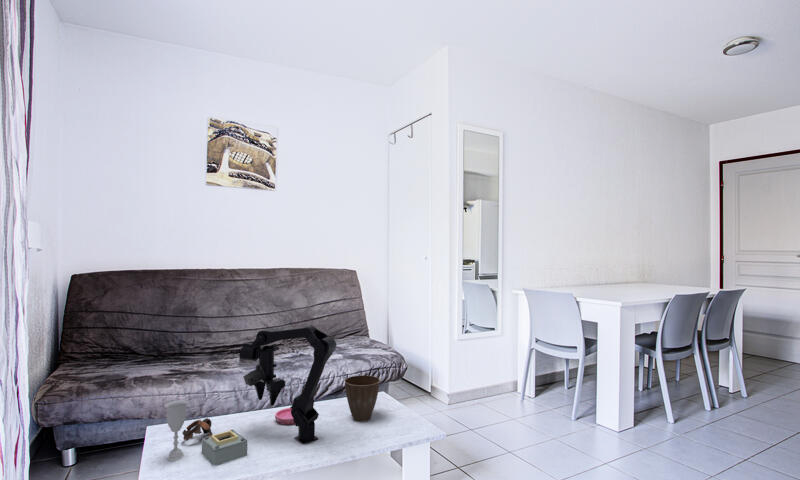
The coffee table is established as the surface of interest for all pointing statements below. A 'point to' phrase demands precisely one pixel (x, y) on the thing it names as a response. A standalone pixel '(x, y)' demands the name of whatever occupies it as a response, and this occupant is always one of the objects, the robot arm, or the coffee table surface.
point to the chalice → (176, 424)
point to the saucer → (284, 416)
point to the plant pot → (362, 395)
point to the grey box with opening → (224, 447)
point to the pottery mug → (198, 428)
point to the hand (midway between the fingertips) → (266, 402)
